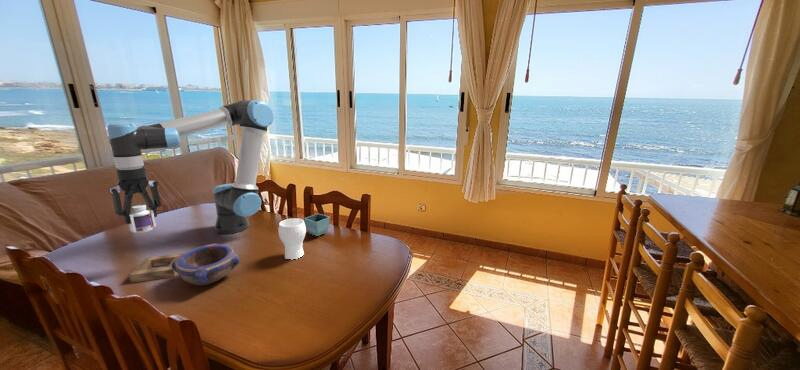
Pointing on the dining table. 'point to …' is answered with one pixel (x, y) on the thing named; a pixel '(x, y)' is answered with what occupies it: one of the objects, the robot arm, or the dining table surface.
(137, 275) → the brown square frame
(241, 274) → the dining table surface
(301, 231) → the cup
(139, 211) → the pill bottle
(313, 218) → the flower pot
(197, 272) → the bowl
